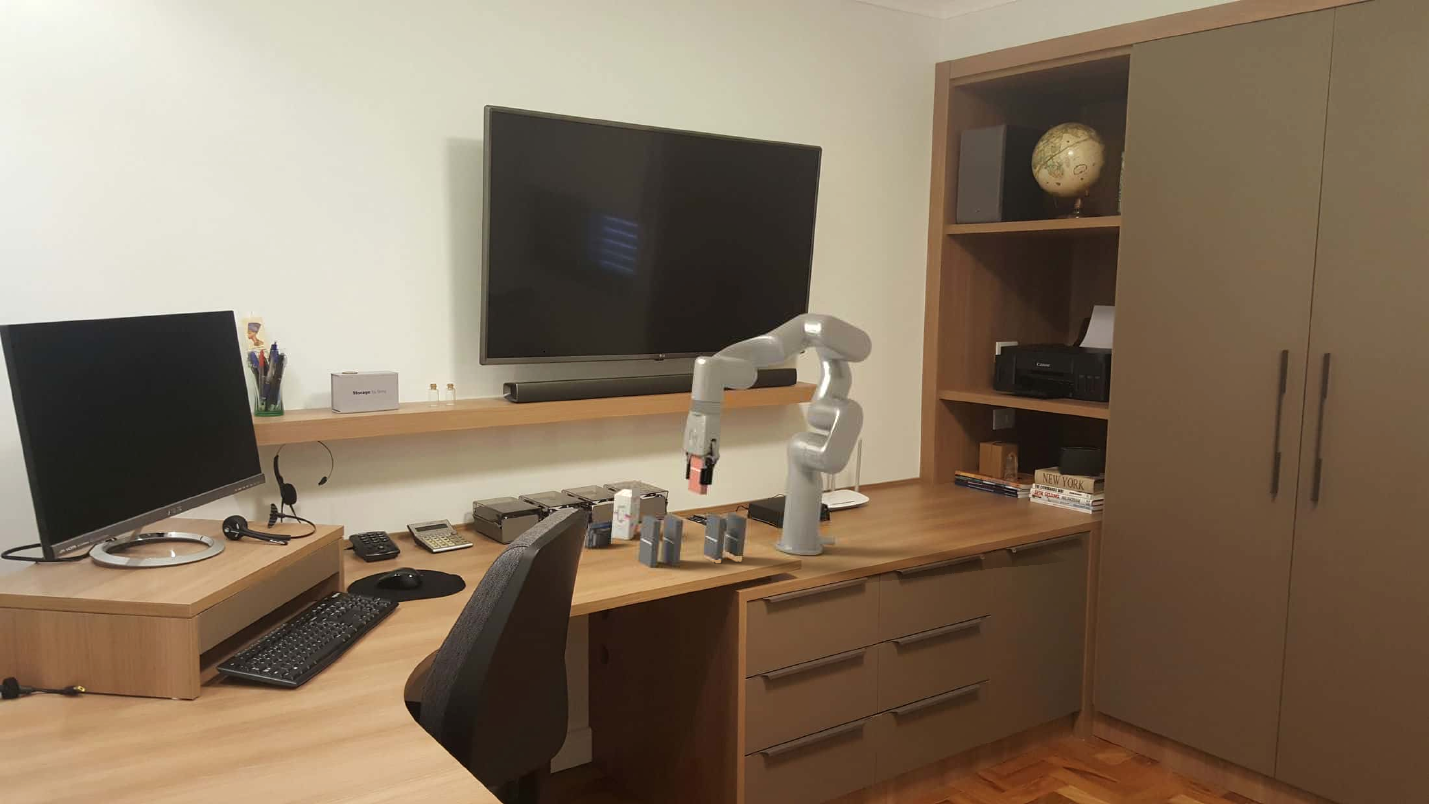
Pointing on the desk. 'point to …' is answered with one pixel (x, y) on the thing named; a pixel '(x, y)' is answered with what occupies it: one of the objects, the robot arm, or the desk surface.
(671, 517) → the domino
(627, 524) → the ink cartridge box
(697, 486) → the domino
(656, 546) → the domino
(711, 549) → the domino
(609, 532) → the mini dv tape
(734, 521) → the domino
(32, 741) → the desk surface
